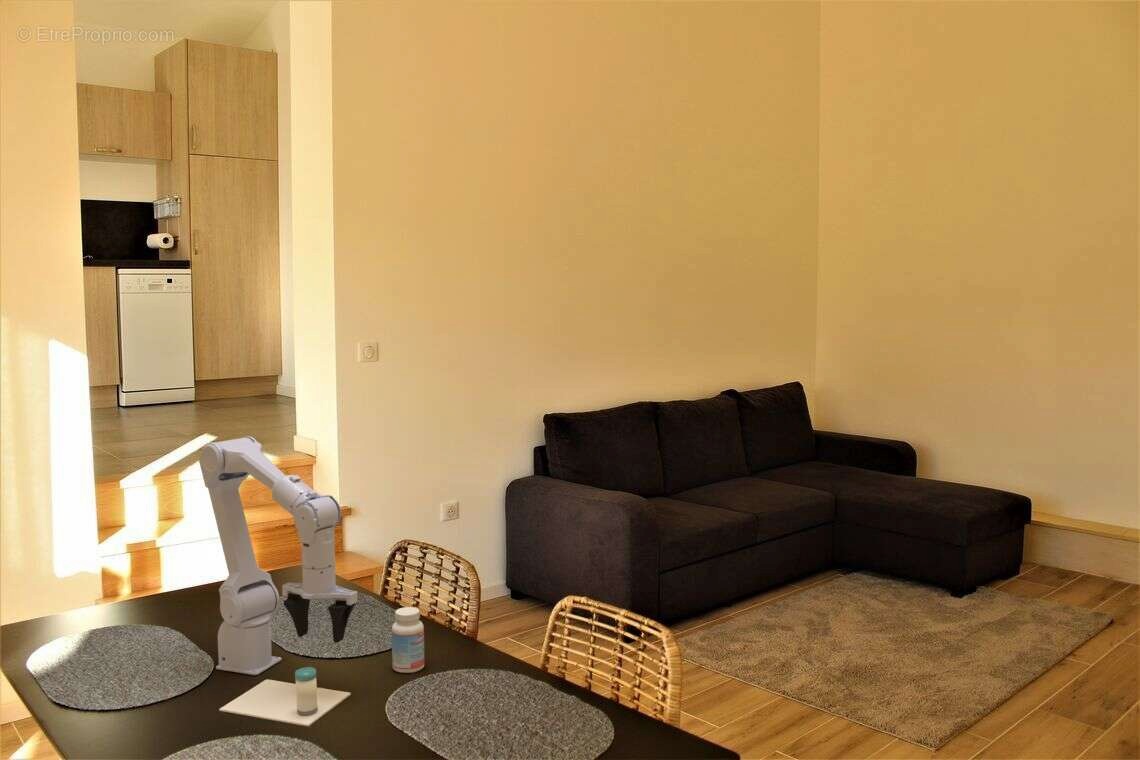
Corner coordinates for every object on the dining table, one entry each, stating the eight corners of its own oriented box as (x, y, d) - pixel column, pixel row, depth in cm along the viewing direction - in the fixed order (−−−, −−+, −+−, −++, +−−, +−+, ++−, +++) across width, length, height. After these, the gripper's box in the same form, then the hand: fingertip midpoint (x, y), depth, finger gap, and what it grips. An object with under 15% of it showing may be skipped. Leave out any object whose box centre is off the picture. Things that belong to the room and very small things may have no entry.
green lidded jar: (292, 714, 162) (290, 673, 161) (305, 705, 165) (303, 665, 164) (309, 717, 160) (307, 676, 160) (322, 708, 164) (320, 668, 163)
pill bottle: (418, 675, 178) (416, 617, 177) (387, 672, 180) (386, 615, 178) (429, 662, 184) (428, 606, 183) (399, 660, 185) (398, 604, 184)
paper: (219, 710, 164) (219, 709, 164) (266, 680, 176) (266, 679, 176) (308, 726, 158) (308, 724, 158) (350, 694, 170) (350, 692, 170)
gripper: (270, 566, 168) (273, 640, 170) (340, 575, 163) (342, 651, 165) (295, 555, 175) (297, 626, 176) (363, 564, 170) (364, 637, 171)
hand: (320, 637), depth 171 cm, fingers open, 7 cm apart
